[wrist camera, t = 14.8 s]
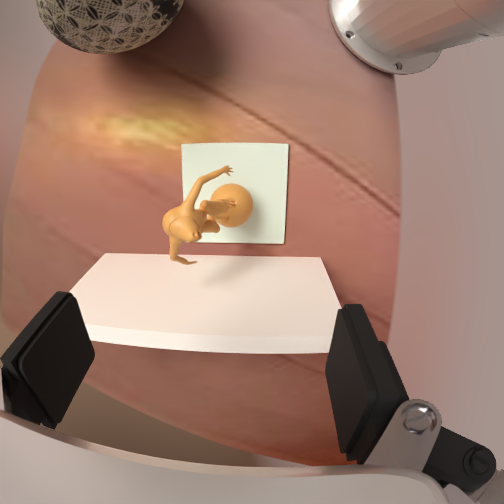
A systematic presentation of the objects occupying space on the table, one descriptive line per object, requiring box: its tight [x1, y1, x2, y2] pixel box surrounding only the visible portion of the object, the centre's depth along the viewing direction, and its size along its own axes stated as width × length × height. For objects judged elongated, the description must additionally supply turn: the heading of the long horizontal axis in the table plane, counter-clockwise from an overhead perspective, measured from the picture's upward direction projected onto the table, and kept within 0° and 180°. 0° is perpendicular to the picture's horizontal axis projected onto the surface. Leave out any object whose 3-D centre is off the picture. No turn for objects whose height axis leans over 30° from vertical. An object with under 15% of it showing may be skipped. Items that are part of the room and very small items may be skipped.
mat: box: [181, 143, 288, 244], centre depth 30 cm, size 10×10×1 cm
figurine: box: [163, 166, 253, 265], centre depth 24 cm, size 8×6×12 cm
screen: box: [70, 253, 342, 354], centre depth 27 cm, size 24×2×13 cm, turn 89°
